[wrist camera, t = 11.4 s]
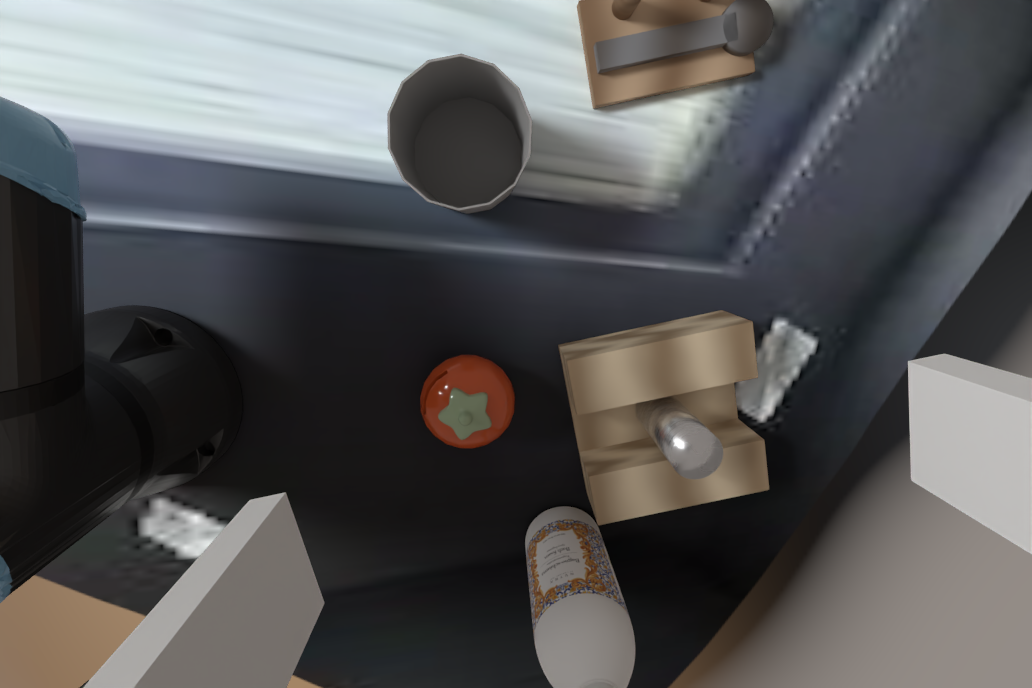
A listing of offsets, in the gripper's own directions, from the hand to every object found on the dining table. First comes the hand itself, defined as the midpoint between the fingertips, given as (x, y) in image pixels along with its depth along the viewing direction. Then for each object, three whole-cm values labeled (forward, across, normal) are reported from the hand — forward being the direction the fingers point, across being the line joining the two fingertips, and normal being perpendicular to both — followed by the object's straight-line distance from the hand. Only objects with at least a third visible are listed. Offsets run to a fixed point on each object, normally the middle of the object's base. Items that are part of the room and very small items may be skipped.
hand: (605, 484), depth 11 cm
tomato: (+32, -6, -7) cm, 33 cm away
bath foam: (+32, -1, -23) cm, 39 cm away
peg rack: (+32, +14, +16) cm, 38 cm away
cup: (+32, -2, +11) cm, 34 cm away
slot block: (+32, +9, -12) cm, 35 cm away
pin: (+31, +9, -12) cm, 34 cm away
